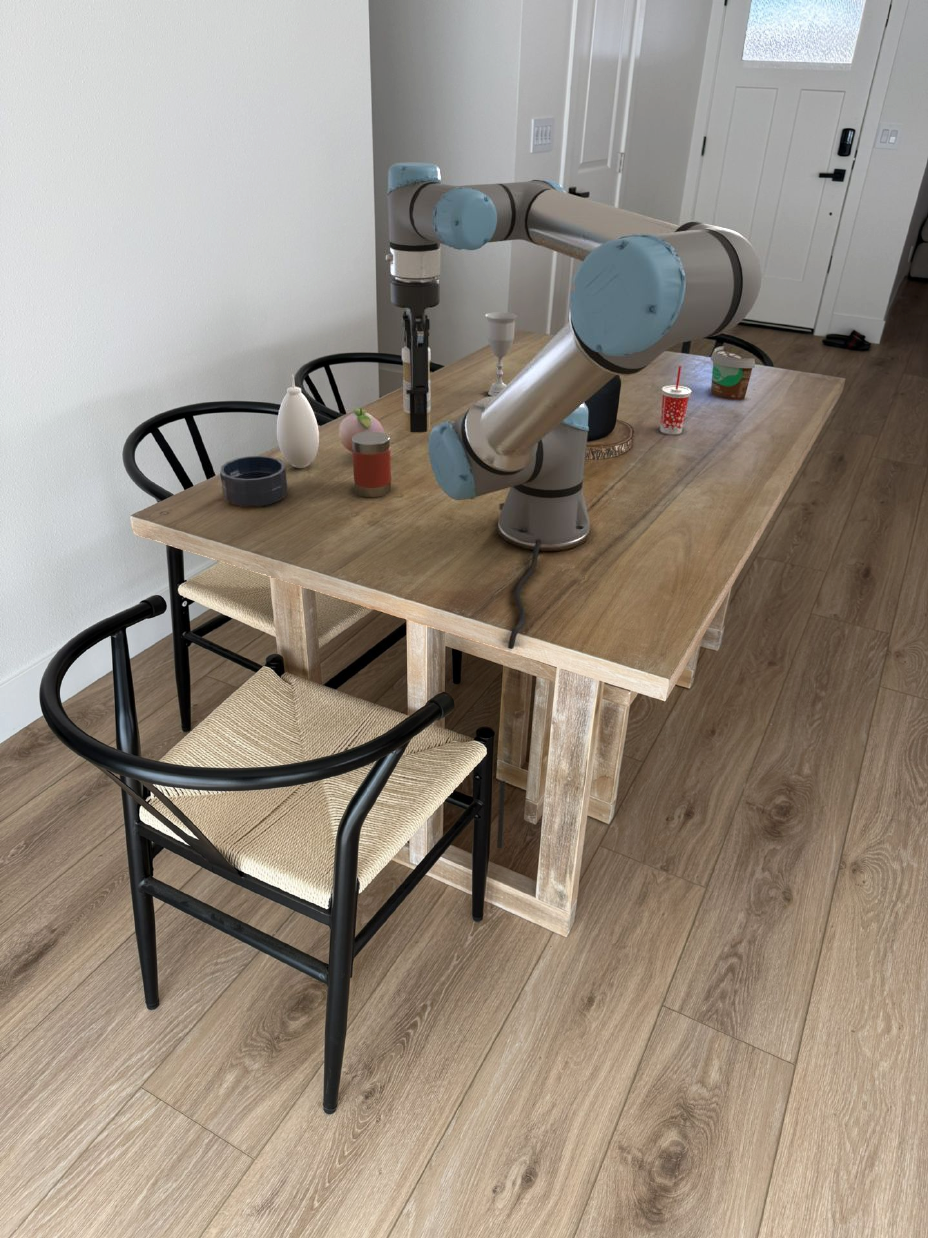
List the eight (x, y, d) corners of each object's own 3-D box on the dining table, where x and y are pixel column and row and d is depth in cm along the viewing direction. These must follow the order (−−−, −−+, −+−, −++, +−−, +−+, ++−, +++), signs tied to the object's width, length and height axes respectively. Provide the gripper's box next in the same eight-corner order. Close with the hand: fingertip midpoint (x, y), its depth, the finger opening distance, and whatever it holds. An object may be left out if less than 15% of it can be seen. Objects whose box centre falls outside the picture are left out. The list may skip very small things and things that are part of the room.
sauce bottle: (276, 461, 173) (267, 369, 163) (316, 456, 175) (309, 366, 166) (284, 476, 167) (275, 382, 157) (325, 471, 169) (318, 378, 160)
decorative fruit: (334, 453, 177) (330, 404, 172) (372, 446, 180) (369, 398, 175) (351, 469, 170) (348, 419, 165) (390, 462, 173) (388, 412, 168)
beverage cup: (690, 433, 189) (701, 368, 182) (666, 437, 187) (675, 371, 180) (675, 424, 194) (684, 360, 187) (651, 427, 192) (659, 363, 185)
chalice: (480, 395, 209) (481, 317, 199) (487, 387, 214) (489, 311, 205) (510, 399, 207) (513, 320, 197) (517, 390, 212) (520, 313, 203)
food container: (694, 389, 216) (701, 348, 211) (715, 386, 218) (721, 345, 213) (727, 404, 206) (735, 361, 201) (748, 401, 209) (756, 358, 203)
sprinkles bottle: (420, 422, 149) (419, 342, 142) (436, 430, 146) (436, 348, 139) (397, 428, 147) (395, 346, 140) (414, 436, 144) (412, 353, 137)
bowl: (287, 507, 155) (284, 478, 152) (222, 511, 153) (218, 481, 151) (288, 482, 164) (285, 454, 162) (226, 485, 163) (222, 457, 160)
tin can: (393, 496, 160) (391, 443, 154) (355, 498, 159) (352, 445, 153) (389, 481, 165) (387, 430, 160) (353, 483, 164) (350, 432, 159)
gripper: (385, 266, 141) (390, 409, 153) (395, 290, 126) (399, 445, 138) (432, 265, 142) (433, 407, 154) (447, 289, 127) (446, 444, 139)
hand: (416, 425), depth 146 cm, fingers closed on sprinkles bottle, 4 cm apart
